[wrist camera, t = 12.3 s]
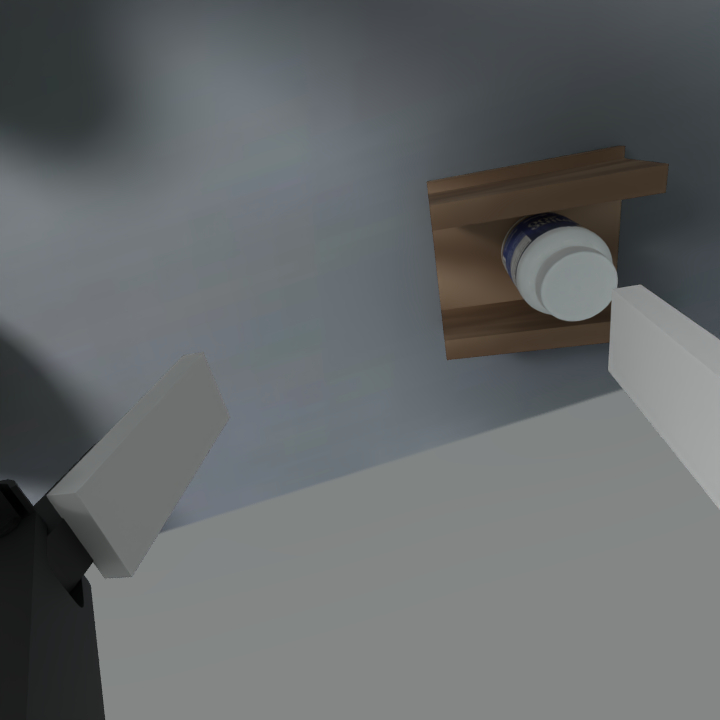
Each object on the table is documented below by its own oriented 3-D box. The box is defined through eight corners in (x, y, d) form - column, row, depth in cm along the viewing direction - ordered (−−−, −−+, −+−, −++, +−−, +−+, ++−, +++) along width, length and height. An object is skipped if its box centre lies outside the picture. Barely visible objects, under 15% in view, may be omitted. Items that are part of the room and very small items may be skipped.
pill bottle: (588, 217, 31) (651, 248, 23) (560, 288, 34) (607, 341, 25) (513, 202, 32) (547, 228, 23) (490, 275, 34) (513, 322, 25)
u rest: (426, 181, 32) (428, 192, 26) (619, 145, 30) (670, 148, 24) (443, 330, 38) (447, 369, 31) (609, 310, 35) (649, 348, 29)
